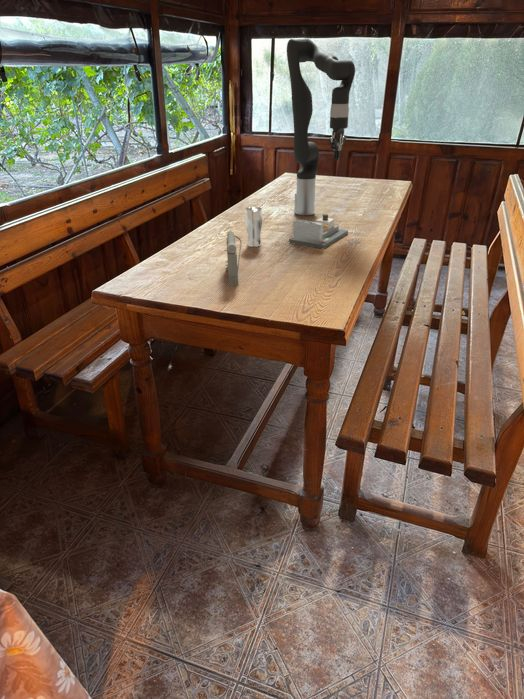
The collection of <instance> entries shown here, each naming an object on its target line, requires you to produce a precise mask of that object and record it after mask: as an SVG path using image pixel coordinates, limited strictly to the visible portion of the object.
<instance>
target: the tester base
mask: <svg viewBox="0 0 524 699" xmlns="http://www.w3.org/2000/svg"><path fill="white" fill-rule="evenodd" d="M339 227H340V226H339V225H334V227H333V228H331V229H330V230H328V231H326V232H324V233H323V243H321V244H314V243H308V242H302V241H296V240H293V237H290V238H289V240H288V241H289V242H290V244H293V243H295V244H294V245H299V244H301V245H300V246H305V245H307V246H306V247H310V246H313V247H312V248H316V247H318V248H317V249H322V248H324V249H326V248H327V247H329V246H331V245H332V244H334V243H335V242H336V241H340V239H342V238H343V237H345V236H347V235H348V234H349V230H347V229H342V228H341V229H340V228H339ZM330 244H331V245H330ZM325 247H326V248H325Z"/></svg>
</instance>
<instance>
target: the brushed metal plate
mask: <svg viewBox="0 0 524 699" xmlns="http://www.w3.org/2000/svg"><path fill="white" fill-rule="evenodd" d="M292 238H293V240H296V241H302V242H308V243H314V244H321V243H323V223H320V222H316V221H313V220H312V221H311V220H307V219H306V220H305V219H294V220H293V237H292Z"/></svg>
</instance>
